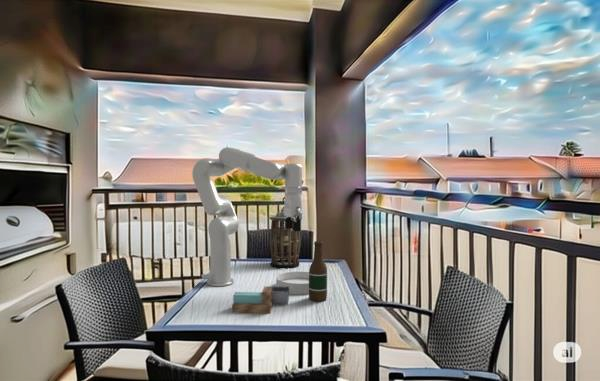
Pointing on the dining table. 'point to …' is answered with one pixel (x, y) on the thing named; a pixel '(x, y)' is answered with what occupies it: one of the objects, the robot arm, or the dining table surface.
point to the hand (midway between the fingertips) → (292, 229)
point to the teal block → (247, 297)
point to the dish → (294, 282)
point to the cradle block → (280, 295)
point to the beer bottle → (318, 275)
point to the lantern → (284, 243)
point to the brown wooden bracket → (256, 308)
